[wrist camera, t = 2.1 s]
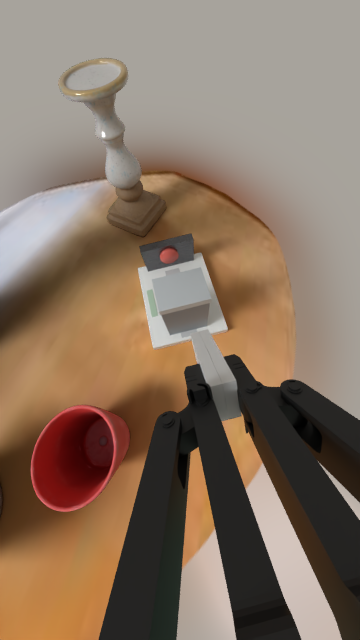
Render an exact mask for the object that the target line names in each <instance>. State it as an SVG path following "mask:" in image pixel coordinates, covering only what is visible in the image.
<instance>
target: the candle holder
mask: <svg viewBox="0 0 360 640" xmlns="http://www.w3.org/2000/svg"><path fill="white" fill-rule="evenodd" d="M127 80H128V72H127V68H126V66H125V65H124V64H123V63H122V62H121V61H119V60H116V59H111V58H99V59H93V60H88V61H85V62H82V63H79V64H77V65H75V66H73V67H71V68H69V69H68V70H66V71H65V72H64V73H63V74H62V75H61V77H60V78H59V83H58V85H59V89H60V91H61V93H62V94H63V96H65V97H66V98H67V99H69V100H71V101H76V102H83V103H84V104H85V105H86V106H87V107H88V108H89V109H90V110H91V111H92V113H93V115H94V117H95V119H96V129H95V133H96V136H97V137H98V138H99V139H101V141H102V142H103V143H104V144H105V146H106V148H107V158H106V165H105V172H106V177H107V179H108V181H109V182H110V183H111V184H112V185H113V186H114V187H116V194H117V196H118V199H117V200H116V201H115V202H114V203H113V205H112V206H111V207H110V208H109V211H108V212H109V214H108V215H107V219H108V222H109V223H110V224H112V225H114V226H116V227H119V228H121V229H124V230H126V231H128V232H131V233H133V234H136V235H138V236H141V237H144V236H145V235H146V234H147V233H148V232H149V230H150V229H151V228H152V227H153V225H154V224H155V223H156V221H157V220H158V219H159V217H160V216H161V215H162V213H163V212H164V211H165V209H166V203H165V201H164V200H162V199H161V198H160V197H159V196H158V195H155V194H153V193H150V192H147V191H145V190H143V185H142V183H141V181H140V178H141V173H142V170H141V166H140V164H139V162H138V160H137V159H136V158H135V156H134V155H133V154H132V153H131V152H130V151H129V150H128V149H127V147H126V146H125V144H124V142H123V137H124V131H125V126H124V124H123V122H122V121H120V119H119V118H118V117H117V115H116V113H115V108H114V102H115V98H116V93H117V92H118V91H119V90H121V89H122V88H123V87H124V86H125V84H126V82H127Z"/></svg>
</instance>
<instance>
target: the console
mask: <svg viewBox="0 0 360 640" xmlns="http://www.w3.org/2000/svg"><path fill="white" fill-rule="evenodd" d="M139 247H140V252H141V255H142V257H143V260H144V262H145V265H146V266H145V267H141V268H138V272H139V277H140V282H141V287H142V293H143V298H144V303H145V308H146V314H147V319H148V324H149V329H150V335H151V340H152V345H153V349H154V350H157V349H161V348H165V347H169V346H173V345H177V344H181V343H185V342H188V341H192V339H191V335H190V333H194V332H198V331H202V330H206V329H208V330H209V332H210V334H211V336H212V335H216V334H220V333H224V332H227V330H228V328H227V325H226V322H225V319H224V316H223V313H222V311H221V308H220V305H219V302H218V299H217V296H216V293H215V291H214V288H213V285H212V282H211V279H210V276H209V273H208V271H207V268H206V265H205V262H204V259H203V256H202V253H197V254H194V245H193V237H192V234H187V235H183V236H179V237H175V238H171V239H167V240H163V241H159V242H155V243H151V244H147V245H143V246H139ZM200 267H201V269H202V272H203V275H204V278H205V281H206V284H207V287H208V290H209V292H210V295H211V298H212V299H211V303H210V307H209V315H208V322H207V326H205V327H201V328H197V329H193V330H189V331H185V332H181V333H178V334H174V335H170V334H169V332H168V330H167V327H166V325H165V323H164V321H163V318H162V316H161V315H160V314H159V311H158V306H157V301H156V297H155V292H154V288H153V283H152V279H156V278H160V277H164V276H168V275H172V274H176V273H180V272H184V271H188V270H192V269H196V268H200Z"/></svg>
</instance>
